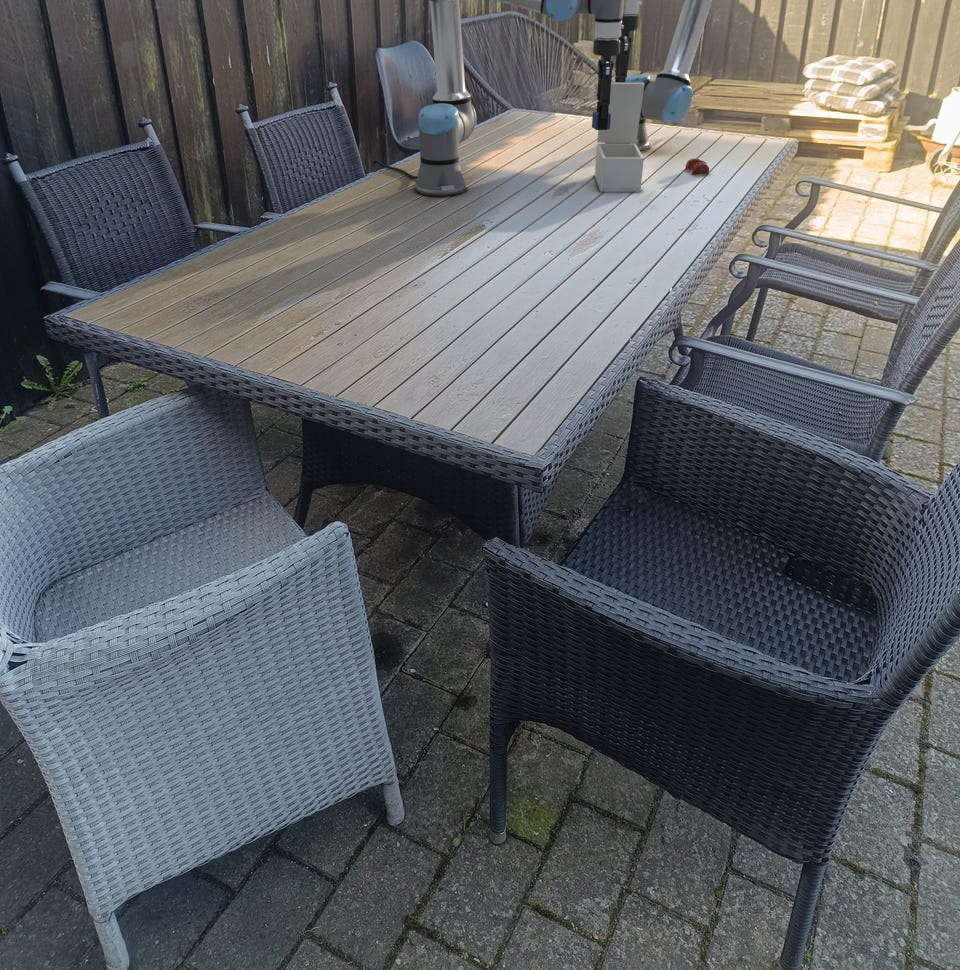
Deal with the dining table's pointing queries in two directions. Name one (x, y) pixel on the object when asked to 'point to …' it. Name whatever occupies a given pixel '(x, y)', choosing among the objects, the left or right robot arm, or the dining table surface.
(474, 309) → the dining table surface
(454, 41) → the left robot arm
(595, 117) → the block
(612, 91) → the lid
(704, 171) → the dark red lumpy piece
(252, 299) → the dining table surface
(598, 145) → the chest
